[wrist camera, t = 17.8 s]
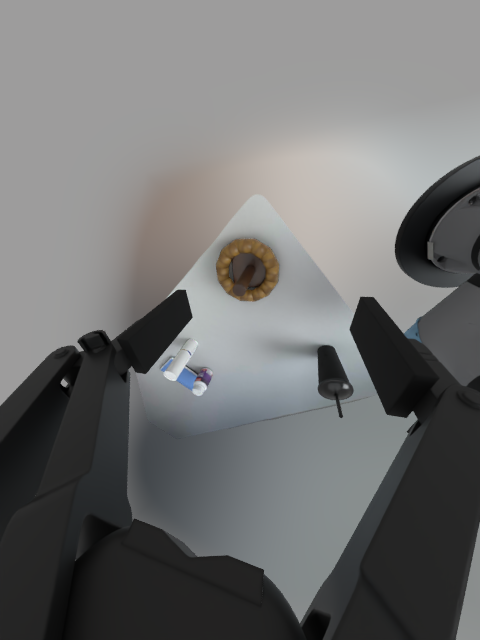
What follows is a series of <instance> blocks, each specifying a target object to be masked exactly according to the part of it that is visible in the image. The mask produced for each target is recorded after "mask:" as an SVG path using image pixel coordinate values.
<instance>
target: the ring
mask: <svg viewBox="0 0 480 640" xmlns="http://www.w3.org/2000/svg"><path fill="white" fill-rule="evenodd" d="M240 253H251V254H253V255H255V256H256V257H258V258H260V259H261V261H262V263H263V265H264V266H265V268H266V274H265V279H264V281H263V283H262V284H261V286H259V287H257V288H255V289H253V290H248V289H247V290H246V292H245V294H244V295H243V296H241V297H238V296H236V295H234V293H233V291H232V288H233V286H234V285H235V284H234V282H233V281H232V279H231V278H230V276H229V265H230V263H231V261H232V259H233V258H234V257H236V256H237V255H239V254H240ZM216 270H217V277H218V281H219V283H220V284H221V286H222V287H223V289H224V290H225V291H226V293H227V294H229V295H231V296H232V297H234V298H236V299H238V300H240V301H252V302H254V301H257V300H260V299H262V298H264V297H266V296H268V295H269V294H270V293H271V291H272V290H273V288H274V287H275V286H276V284H277V283H278V276H279V263H278V261H277V259H276V257H275V255H274V254H273V252H272V250H271V248H270V247H268V246H266V245H265V244H263V243H261V242H260V241H258V240H256V239H253V238H252V239H236V240H234V241H233V242H231V243H230V244H228V245H227V246H226V247H224V248H223V249H222V251H221V253H220V255H219V258H218V260H217V263H216Z"/></svg>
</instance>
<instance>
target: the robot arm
mask: <svg viewBox="0 0 480 640" xmlns="http://www.w3.org/2000/svg"><path fill="white" fill-rule="evenodd" d="M424 251H425V255H426V257H427V259H428V260H429V262H430V263H432V264H433V265H434V266H436V267H438V268H440V269H442V270H445V271H447V272H452V273H468V274H474V275H473V276H472V277H471V278H470V279H468V280H467V281H466V282H464V283H463V284H462V285H461V286H459V287H458V288H457V289H456V290H455V291H453V292H452V293H451V294H450V295H449V296H447V297H446V298H445V299H443V300H442V301H441V302H440V303H438V304H437V305H436V306H435V307H434V308H432V309H431V310H430V311H429V312H427V313H426V314H425V315H424V316H422V317H420V318H418V319H417V321H416V323H415V324H414V325H413V326H412V327H411V328H409V329H408V330H407V331H406V332H405V333H404V334H403V333H402V331H401V330H400V329H399V328H398V326H397V325H396V324H395V323H394V322H393V320H392V319H391V318H390V317H389V316H388V314H387V313H386V312H385V311H384V309H383V308H382V307H381V306H380V305H379V303H378V302H377V301H376V300H375V298H374V297H360V300H359V303H358V306H357V309H356V312H355V315H354V318H353V321H352V324H351V327H350V332H351V334H352V336H353V339H354V341H355V343H356V345H357V348H358V350H359V352H360V355H361V357H362V359H363V361H364V364H365V366H366V368H367V370H368V373H369V375H370V377H371V380H372V382H373V384H374V386H375V389H376V391H377V393H378V396H379V398H380V400H381V402H382V405H383V407H384V409H385V412H386V414H387V415H392V416H398V417H404V418H407V417H408V415H409V414H410V413H411V412H412V411H414V413H415V415H416V416H417V418H418V420H417V421H416V422H415V423H414V424H413V425H412V426H411V427H410V429H409V430H408V431H407V432H408V433H409V434H408V436H407V437H406V439H405V441H404V443H403V445H402V446H401V448H400V450H399V452H398V454H397V455H396V457H395V459H394V461H393V463H392V465H391V466H390V468H389V470H388V472H387V474H386V475H385V477H384V479H383V481H382V483H381V484H380V486H379V488H378V490H377V492H376V494H375V495H374V497H373V499H372V501H371V503H370V504H369V506H368V508H367V510H366V512H365V513H364V515H363V517H362V519H361V521H360V522H359V524H358V526H357V528H356V530H355V532H354V534H353V535H352V537H351V539H350V541H349V542H348V544H347V546H346V548H345V550H344V552H343V553H342V555H341V557H340V559H339V561H338V562H337V564H336V566H335V568H334V569H333V571H332V573H331V574H330V575H329V576H328V578H327V579H326V580H325V582H324V583H323V585H322V586H321V587H320V589H319V591H318V592H317V594H316V596H315V598H314V599H313V601H312V603H311V605H310V607H309V608H308V610H307V612H306V614H305V616H304V617H303V619H302V621H301V623H299V622H298V619H297V617H296V616H295V614H294V612H293V611H292V608H291V606H290V605H289V603H288V602H287V600H286V599H285V598H284V596H283V594H282V593H281V591H280V590H279V589H278V588H277V587H276V586H275V584H274V583H273V582H272V581H271V580H270V579H269V578H268V577H266V576H265V575H264V570H263V569H261V568H258V567H255V566H253V565H250V564H248V563H245V562H243V561H240V560H238V559H235V558H233V557H230V556H208V557H197V556H196V555H195V554H194V553H193V552H192V551H191V550H190V549H189V548H188V547H187V546H186V545H185V544H184V543H183V542H182V541H180V540H179V539H177V538H175V537H174V536H172V535H170V534H169V533H167V532H165V531H164V530H162V529H160V528H157V527H155V526H152V525H150V524H147V523H145V522H142V521H139V520H137V519H134V520H133V522H132V512H131V507H130V504H129V501H128V497H127V469H128V434H129V396H130V372H129V370H128V369H129V368H130V367H131V366H132V367H133V368H134V370H135V372H137V373H143V374H146V373H147V372H148V371H149V370H150V368H151V367H152V366H153V365H154V363H155V362H156V361H157V360H158V359H159V357H160V356H161V355H162V354H163V353H164V351H165V350H166V349H167V348H168V347H169V345H170V344H171V343H172V342H173V341H174V339H175V338H176V337H177V336H178V334H179V333H180V332H181V331H182V330H183V328H184V327H185V326H186V325H187V324H188V322H189V321H190V320H191V319H192V318H193V317H192V313H191V309H190V305H189V301H188V297H187V293H186V290H177V291H175V292H174V293H173V294H172V295H170V296H169V297H168V298H167V299H165V300H164V301H163V302H162V303H161V304H160V305H158V306H157V307H156V308H154V309H153V310H152V311H151V312H149V313H148V314H147V315H146V316H144V317H143V318H142V319H140V320H138V321H136V322H135V323H134V324H133V325H132V326H130V327H129V328H128V329H127V330H125V331H124V332H123V333H121V334H120V335H119V336H117V337H116V338H115V339H114V340H112V341H110V339H109V338H108V336H107V334H106V333H105V331H103V330H97V331H93V332H90V333H88V334H86V335H84V336H82V337H81V338H79V340H78V343H79V344H80V346H81V347H82V348H83V350H84V351H81V352H79V351H78V350H77V349H76V347H75V346H66V347H61V348H59V349H57V350H56V351H54V352H52V353H51V354H50V355H49V356H48V357H47V358H46V359H45V360H44V361H43V362H42V363H41V364H40V365H39V366H38V367H37V368H36V369H35V370H34V371H33V372H32V373H31V374H30V376H28V378H27V379H26V380H25V381H24V382H23V383H22V384H21V385H20V386H19V387H18V388H17V389H16V390H15V391H14V392H13V393H12V394H11V395H10V396H9V397H8V399H7V400H6V401H5V402H4V403H3V404H2V405H1V406H0V640H456V634H457V630H458V625H459V620H460V615H461V610H462V606H463V601H464V596H465V591H466V586H467V581H468V576H469V571H470V567H471V561H472V557H473V552H474V547H475V542H476V537H477V532H478V528H479V522H480V185H478V186H476V187H474V188H472V189H470V190H468V191H466V192H465V193H463V194H462V195H460V196H459V197H458V198H456V199H455V200H454V201H452V202H451V203H450V204H449V205H448V206H447V207H446V208H445V209H444V210H443V211H442V212H441V213H440V214H439V215H438V216H437V217H436V219H435V220H434V222H433V223H432V225H431V226H430V228H429V230H428V232H427V235H426V238H425V243H424ZM62 379H64V380H65V381H66V382H67V383H68V385H67V386H66V387H63V386H62V385H61V384H60V383H61V381H62ZM36 493H37V494H36ZM35 495H36V496H35ZM75 560H76V561H75ZM263 577H264V579H263ZM262 590H263V592H262Z"/></svg>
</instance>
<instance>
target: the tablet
mask: <svg viewBox="0 0 480 640" xmlns="http://www.w3.org/2000/svg"><path fill="white" fill-rule="evenodd" d="M173 359H174V358H173V357H171V358H170V359H169V360H168V361H167V362H166V363H165V364H164V365H163V366H162V367H161V371H163V372H165V370H166V369H167V368H168V366H169V365H170V363H171V362H172V361H173ZM197 376H198V375H197V374H196V373H194V372H193V371H192V370H190V369H189V368H187V367H186V366H185V367H184V369H183V370H182V372H181V373H180V375H179V376H178V378H177V380H176V381H178V382H179V383H181V384H182V385H184V386H185V387H187V388H188V389H190V390H191V391H192V389H193V387H194V385H193V384H194V381H195V380H196V378H197Z"/></svg>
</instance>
